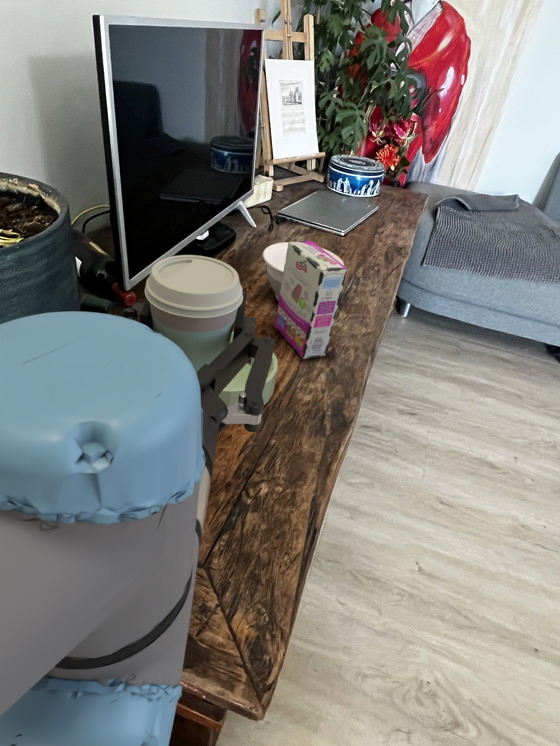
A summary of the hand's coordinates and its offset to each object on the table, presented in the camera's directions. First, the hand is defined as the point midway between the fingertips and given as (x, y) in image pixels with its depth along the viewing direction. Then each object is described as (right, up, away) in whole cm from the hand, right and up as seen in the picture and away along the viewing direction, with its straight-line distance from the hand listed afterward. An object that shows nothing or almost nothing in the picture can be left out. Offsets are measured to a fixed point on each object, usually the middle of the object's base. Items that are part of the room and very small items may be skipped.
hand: (200, 299), depth 49 cm
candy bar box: (+11, -2, +38) cm, 40 cm away
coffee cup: (-1, -8, 0) cm, 9 cm away
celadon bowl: (0, -9, +25) cm, 26 cm away
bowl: (+11, +8, +51) cm, 53 cm away
